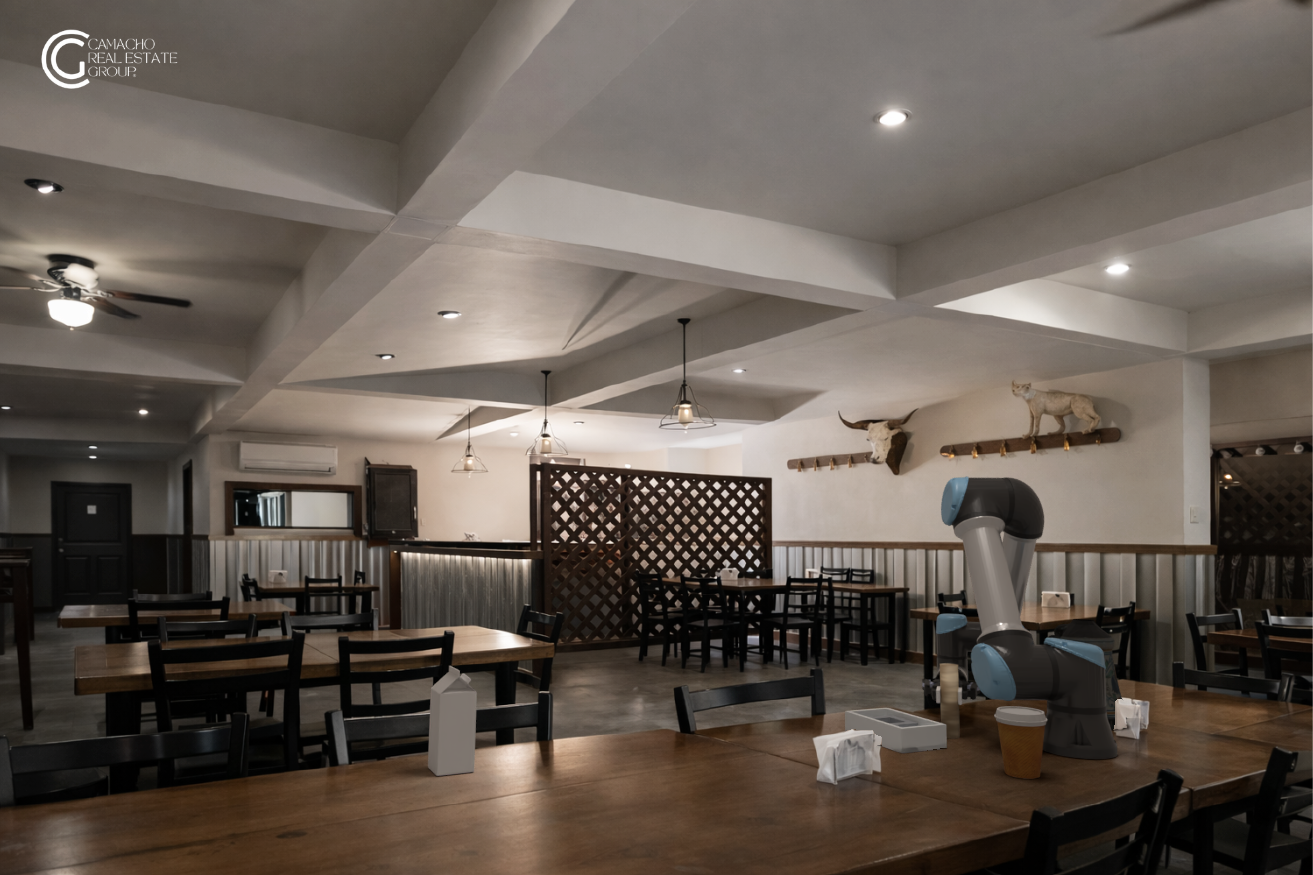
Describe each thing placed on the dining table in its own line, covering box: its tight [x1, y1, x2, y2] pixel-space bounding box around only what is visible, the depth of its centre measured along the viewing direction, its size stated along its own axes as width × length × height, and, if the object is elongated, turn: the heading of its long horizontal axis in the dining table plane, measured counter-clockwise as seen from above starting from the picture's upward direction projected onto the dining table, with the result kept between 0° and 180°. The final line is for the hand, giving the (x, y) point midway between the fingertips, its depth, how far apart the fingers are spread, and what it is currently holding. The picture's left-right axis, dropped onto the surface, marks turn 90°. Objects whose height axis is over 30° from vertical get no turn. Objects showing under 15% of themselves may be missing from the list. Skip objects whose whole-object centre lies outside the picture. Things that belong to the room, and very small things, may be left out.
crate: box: [844, 707, 948, 754], centre depth 201 cm, size 20×12×5 cm, turn 24°
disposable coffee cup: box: [994, 705, 1047, 780], centre depth 174 cm, size 10×10×12 cm
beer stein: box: [1043, 618, 1123, 731], centre depth 224 cm, size 16×19×25 cm
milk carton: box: [427, 665, 478, 777], centre depth 173 cm, size 7×7×19 cm
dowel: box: [940, 663, 961, 739], centre depth 207 cm, size 4×4×16 cm
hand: (948, 697), depth 202 cm, fingers closed on dowel, 4 cm apart
